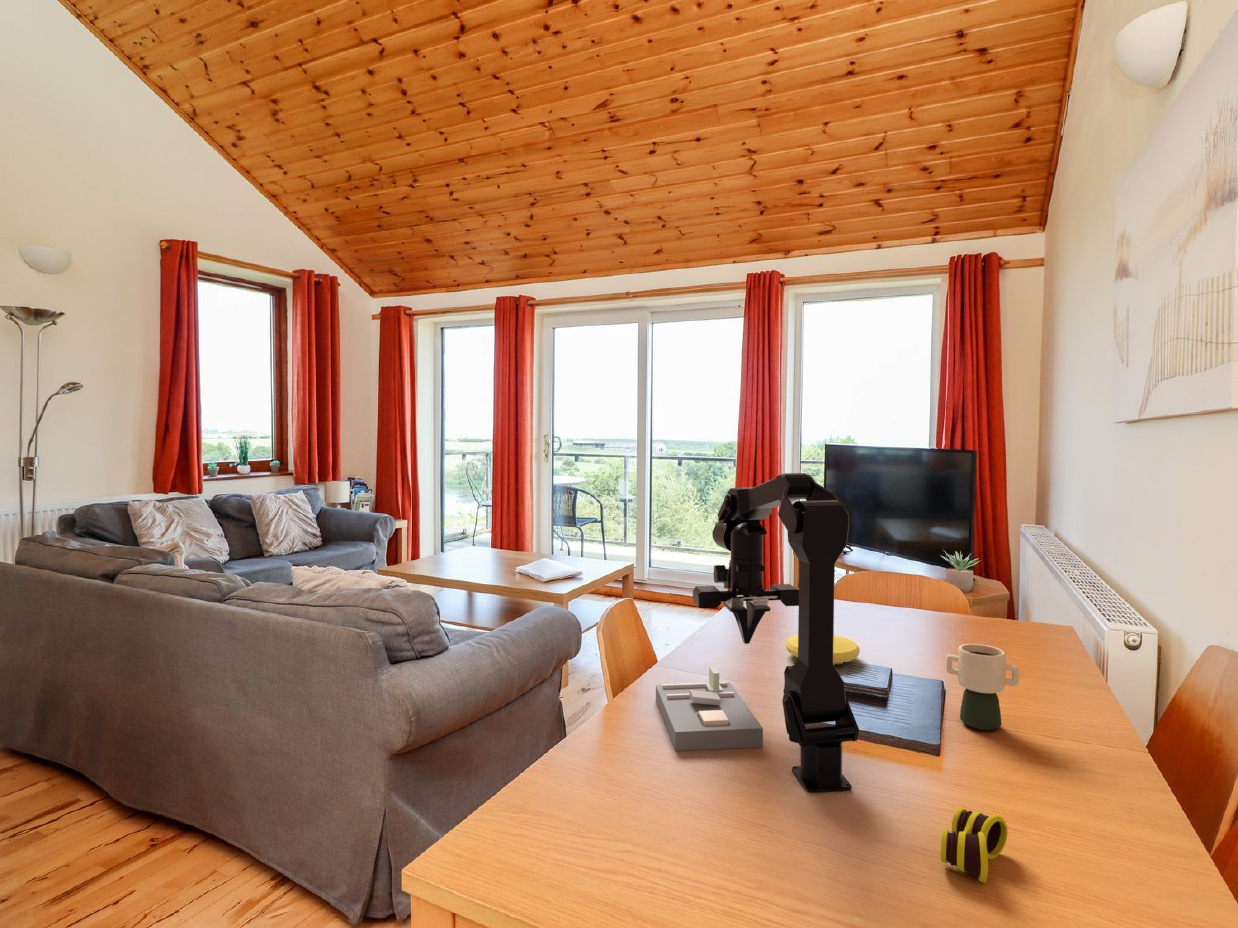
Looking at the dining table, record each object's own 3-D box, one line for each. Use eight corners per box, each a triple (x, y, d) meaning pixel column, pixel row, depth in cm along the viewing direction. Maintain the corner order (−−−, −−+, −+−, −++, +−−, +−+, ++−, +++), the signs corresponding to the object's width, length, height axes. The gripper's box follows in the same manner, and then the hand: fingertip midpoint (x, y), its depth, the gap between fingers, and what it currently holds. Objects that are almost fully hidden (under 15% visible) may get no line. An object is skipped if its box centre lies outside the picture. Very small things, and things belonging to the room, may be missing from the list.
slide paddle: (723, 692, 121) (723, 673, 121) (709, 693, 121) (709, 673, 120) (718, 685, 124) (718, 666, 124) (705, 686, 124) (705, 666, 124)
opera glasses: (959, 834, 84) (960, 795, 84) (1007, 852, 80) (1008, 811, 80) (934, 872, 76) (935, 829, 76) (986, 893, 73) (987, 848, 73)
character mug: (1019, 726, 115) (1021, 650, 114) (1014, 741, 109) (1016, 661, 108) (948, 711, 121) (950, 638, 120) (940, 724, 115) (942, 649, 115)
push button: (728, 735, 109) (728, 719, 109) (703, 736, 108) (704, 720, 108) (722, 725, 113) (722, 709, 112) (698, 726, 112) (698, 710, 112)
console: (762, 746, 107) (763, 724, 107) (675, 750, 106) (675, 728, 106) (729, 698, 127) (730, 679, 127) (655, 701, 126) (655, 681, 126)
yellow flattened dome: (876, 666, 145) (876, 633, 145) (815, 675, 139) (815, 641, 139) (827, 645, 160) (828, 615, 159) (770, 653, 154) (771, 622, 154)
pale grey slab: (720, 705, 115) (721, 699, 115) (692, 702, 115) (693, 696, 115) (715, 698, 119) (716, 692, 119) (688, 695, 118) (689, 689, 118)
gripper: (782, 548, 131) (781, 628, 132) (686, 550, 129) (686, 631, 130) (803, 559, 120) (802, 646, 121) (699, 561, 118) (699, 650, 119)
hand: (746, 643), depth 123 cm, fingers closed
